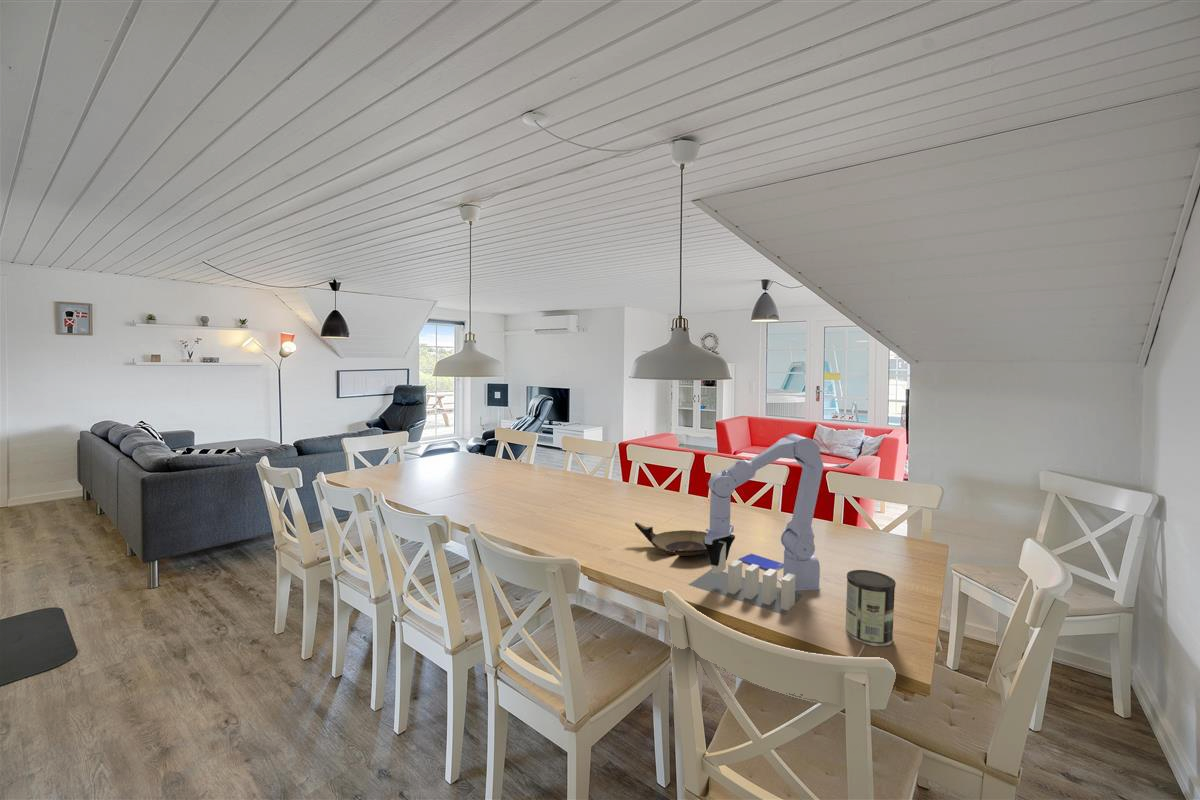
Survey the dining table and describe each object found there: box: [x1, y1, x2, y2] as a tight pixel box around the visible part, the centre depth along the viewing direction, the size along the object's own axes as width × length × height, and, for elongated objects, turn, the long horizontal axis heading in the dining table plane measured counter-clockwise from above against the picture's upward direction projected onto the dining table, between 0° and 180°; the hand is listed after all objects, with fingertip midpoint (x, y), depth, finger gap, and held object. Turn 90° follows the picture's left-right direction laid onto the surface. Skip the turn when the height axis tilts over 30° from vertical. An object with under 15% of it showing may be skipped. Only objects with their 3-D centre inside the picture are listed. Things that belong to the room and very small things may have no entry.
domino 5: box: [780, 573, 796, 612], centre depth 137 cm, size 2×5×8 cm, turn 141°
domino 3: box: [744, 564, 760, 600], centre depth 143 cm, size 2×5×8 cm, turn 141°
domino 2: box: [727, 559, 743, 594], centre depth 146 cm, size 2×5×8 cm, turn 141°
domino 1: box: [710, 541, 727, 574], centre depth 149 cm, size 2×5×8 cm, turn 141°
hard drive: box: [737, 553, 784, 572], centre depth 166 cm, size 2×8×12 cm
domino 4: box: [762, 569, 778, 605], centre depth 140 cm, size 2×5×8 cm, turn 141°
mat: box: [688, 569, 804, 615], centre depth 147 cm, size 28×15×1 cm, turn 51°
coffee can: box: [845, 569, 897, 647], centre depth 123 cm, size 10×10×14 cm
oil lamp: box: [634, 522, 708, 557], centre depth 178 cm, size 22×30×8 cm
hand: (718, 562), depth 149 cm, fingers closed on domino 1, 5 cm apart
